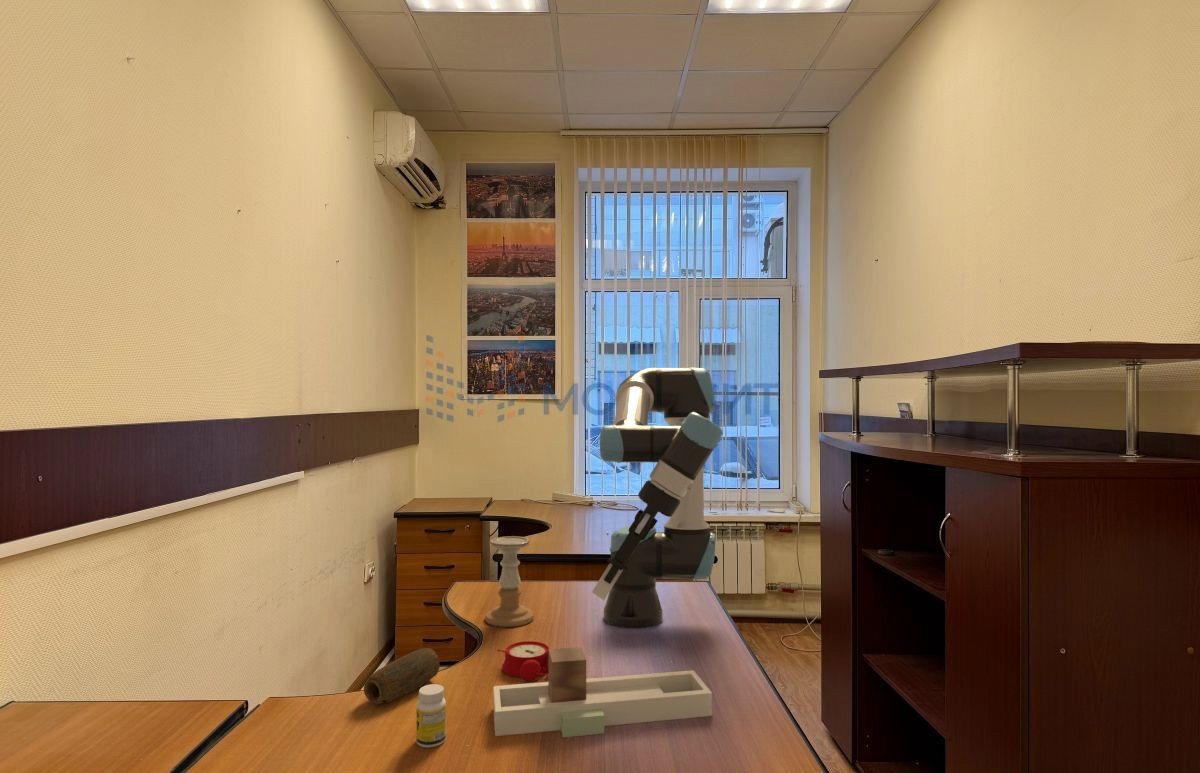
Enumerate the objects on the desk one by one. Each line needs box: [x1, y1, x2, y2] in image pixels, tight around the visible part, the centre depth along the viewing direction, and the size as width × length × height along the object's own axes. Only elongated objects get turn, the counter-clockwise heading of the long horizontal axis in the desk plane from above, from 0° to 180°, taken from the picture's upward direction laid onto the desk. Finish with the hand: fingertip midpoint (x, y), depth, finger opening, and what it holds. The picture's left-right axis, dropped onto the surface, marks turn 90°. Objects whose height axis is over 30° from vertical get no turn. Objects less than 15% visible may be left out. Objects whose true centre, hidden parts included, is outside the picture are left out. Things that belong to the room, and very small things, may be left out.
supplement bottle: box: [415, 683, 447, 748], centre depth 107 cm, size 5×5×8 cm
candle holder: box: [484, 535, 535, 628], centre depth 167 cm, size 12×12×20 cm
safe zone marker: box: [560, 677, 605, 738], centre depth 116 cm, size 7×15×3 cm, turn 11°
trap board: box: [492, 669, 713, 737], centre depth 117 cm, size 38×10×4 cm, turn 101°
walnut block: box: [548, 646, 587, 703], centre depth 116 cm, size 6×6×8 cm
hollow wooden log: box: [363, 647, 440, 705], centre depth 125 cm, size 15×7×7 cm, turn 155°
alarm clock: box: [497, 640, 550, 683], centre depth 135 cm, size 10×6×15 cm
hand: (598, 595), depth 123 cm, fingers closed
